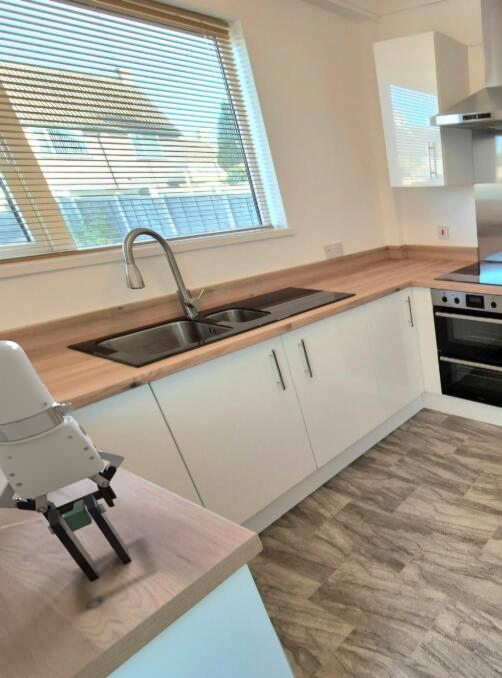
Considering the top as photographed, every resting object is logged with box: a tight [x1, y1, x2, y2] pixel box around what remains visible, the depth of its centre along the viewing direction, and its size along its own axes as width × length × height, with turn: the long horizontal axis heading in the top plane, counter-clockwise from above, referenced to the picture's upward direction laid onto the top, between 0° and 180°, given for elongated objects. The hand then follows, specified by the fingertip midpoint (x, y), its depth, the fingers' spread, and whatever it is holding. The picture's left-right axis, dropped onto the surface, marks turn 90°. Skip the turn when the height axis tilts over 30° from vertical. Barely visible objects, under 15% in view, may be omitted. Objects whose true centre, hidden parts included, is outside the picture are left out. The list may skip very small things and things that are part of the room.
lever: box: [55, 490, 104, 533], centre depth 67 cm, size 13×6×2 cm, turn 47°
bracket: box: [47, 494, 132, 583], centre depth 65 cm, size 10×8×13 cm
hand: (87, 513), depth 72 cm, fingers closed on lever, 5 cm apart
